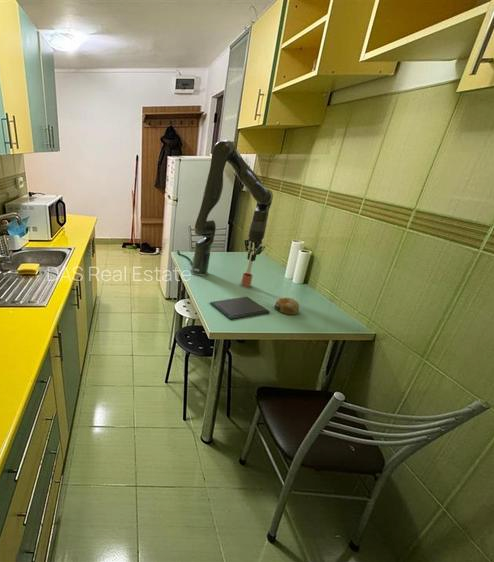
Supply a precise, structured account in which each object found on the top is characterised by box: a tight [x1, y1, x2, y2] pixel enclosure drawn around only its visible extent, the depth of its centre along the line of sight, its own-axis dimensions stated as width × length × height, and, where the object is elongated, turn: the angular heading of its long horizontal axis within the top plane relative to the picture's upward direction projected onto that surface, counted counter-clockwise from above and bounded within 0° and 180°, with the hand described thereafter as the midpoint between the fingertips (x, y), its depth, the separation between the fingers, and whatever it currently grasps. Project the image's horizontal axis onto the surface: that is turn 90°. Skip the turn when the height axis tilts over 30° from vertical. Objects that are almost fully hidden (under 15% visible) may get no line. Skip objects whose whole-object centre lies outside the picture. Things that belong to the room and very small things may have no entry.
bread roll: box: [274, 297, 300, 316], centre depth 145 cm, size 10×10×8 cm
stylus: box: [245, 251, 254, 274], centre depth 166 cm, size 2×2×13 cm
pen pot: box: [240, 272, 254, 288], centre depth 170 cm, size 5×5×7 cm
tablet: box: [209, 296, 271, 320], centre depth 147 cm, size 16×22×1 cm
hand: (250, 260), depth 165 cm, fingers closed on stylus, 2 cm apart
